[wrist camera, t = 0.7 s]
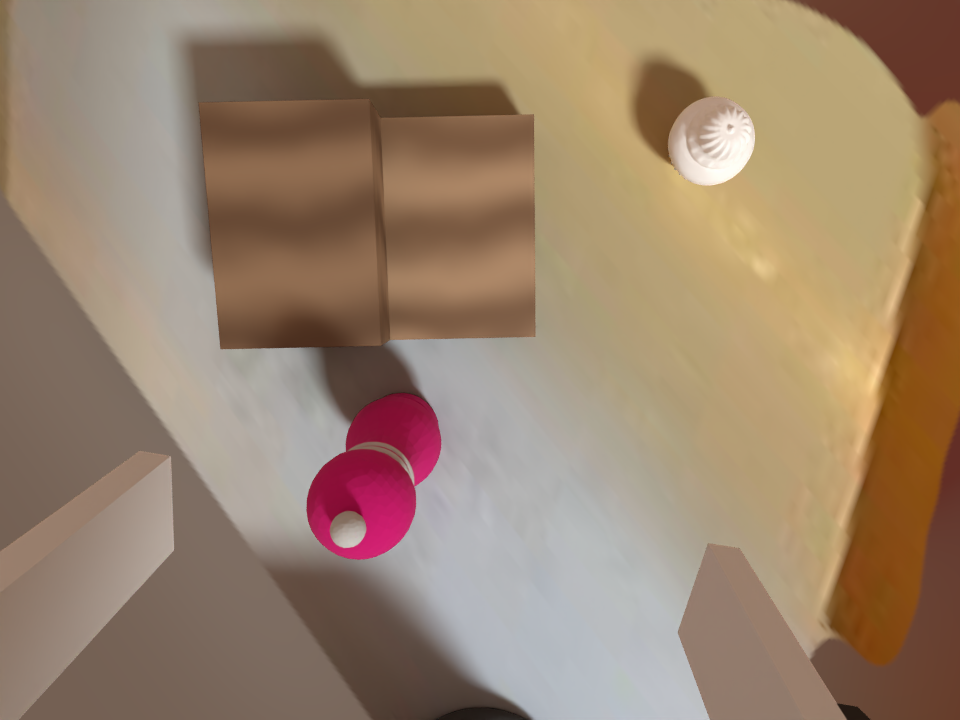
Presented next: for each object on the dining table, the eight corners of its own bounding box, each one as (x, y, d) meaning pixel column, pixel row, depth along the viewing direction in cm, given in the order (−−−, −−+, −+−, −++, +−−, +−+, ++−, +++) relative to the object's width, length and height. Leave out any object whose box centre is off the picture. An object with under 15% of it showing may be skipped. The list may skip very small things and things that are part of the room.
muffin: (650, 191, 43) (683, 174, 36) (656, 111, 42) (691, 77, 35) (727, 194, 43) (774, 177, 36) (735, 113, 42) (784, 80, 36)
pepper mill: (342, 429, 46) (238, 539, 26) (400, 369, 45) (338, 435, 25) (404, 485, 47) (349, 634, 27) (462, 427, 46) (449, 535, 26)
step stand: (530, 332, 45) (541, 342, 37) (266, 337, 45) (220, 349, 37) (528, 130, 43) (540, 94, 35) (250, 136, 43) (198, 102, 35)
